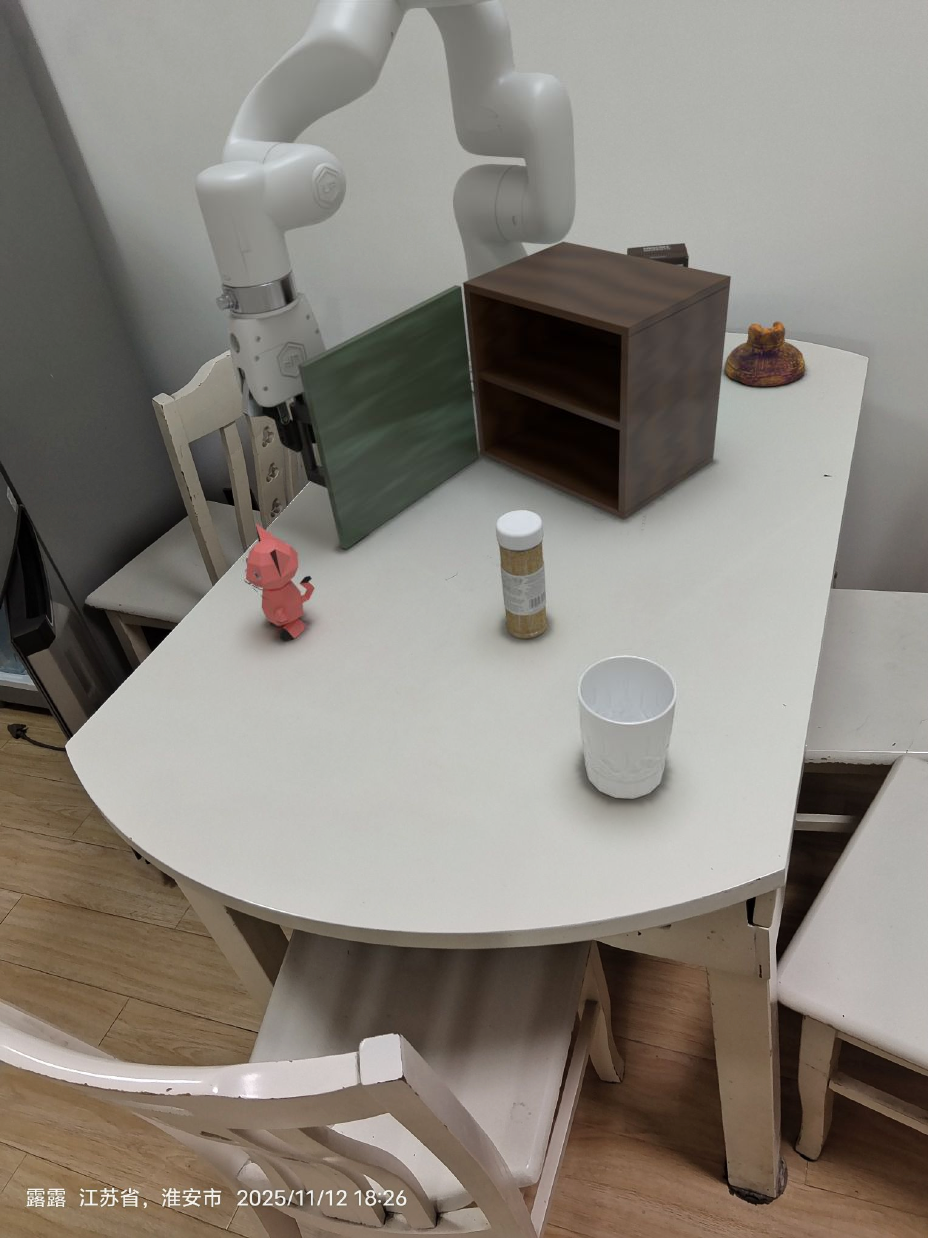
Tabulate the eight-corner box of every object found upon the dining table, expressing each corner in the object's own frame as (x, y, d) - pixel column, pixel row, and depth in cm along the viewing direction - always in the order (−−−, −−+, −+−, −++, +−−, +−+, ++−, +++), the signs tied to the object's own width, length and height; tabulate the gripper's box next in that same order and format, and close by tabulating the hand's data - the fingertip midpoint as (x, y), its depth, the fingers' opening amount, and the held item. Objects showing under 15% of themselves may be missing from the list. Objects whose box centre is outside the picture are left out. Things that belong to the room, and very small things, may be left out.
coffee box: (680, 343, 142) (686, 241, 132) (684, 359, 137) (690, 255, 127) (624, 346, 144) (626, 246, 133) (626, 362, 139) (628, 259, 128)
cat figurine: (252, 620, 97) (222, 532, 89) (307, 596, 99) (283, 509, 91) (274, 654, 92) (244, 564, 84) (332, 628, 94) (308, 539, 86)
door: (306, 532, 109) (260, 353, 94) (439, 444, 123) (417, 277, 108) (346, 549, 105) (303, 366, 90) (478, 457, 119) (461, 285, 104)
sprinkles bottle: (534, 607, 93) (528, 503, 85) (556, 630, 90) (551, 524, 81) (497, 622, 92) (487, 517, 83) (518, 646, 89) (509, 540, 80)
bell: (717, 384, 129) (722, 337, 125) (732, 352, 138) (736, 307, 133) (799, 391, 125) (806, 342, 120) (808, 357, 133) (816, 311, 129)
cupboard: (624, 520, 104) (628, 327, 89) (480, 455, 120) (462, 282, 105) (713, 461, 113) (731, 275, 97) (567, 407, 129) (563, 241, 113)
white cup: (571, 741, 78) (569, 661, 72) (657, 730, 78) (662, 649, 72) (588, 811, 72) (587, 730, 66) (681, 799, 72) (689, 717, 66)
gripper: (218, 324, 86) (265, 482, 98) (339, 274, 93) (370, 426, 105) (180, 310, 90) (230, 463, 102) (299, 263, 98) (332, 410, 110)
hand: (301, 443), depth 104 cm, fingers closed on door
